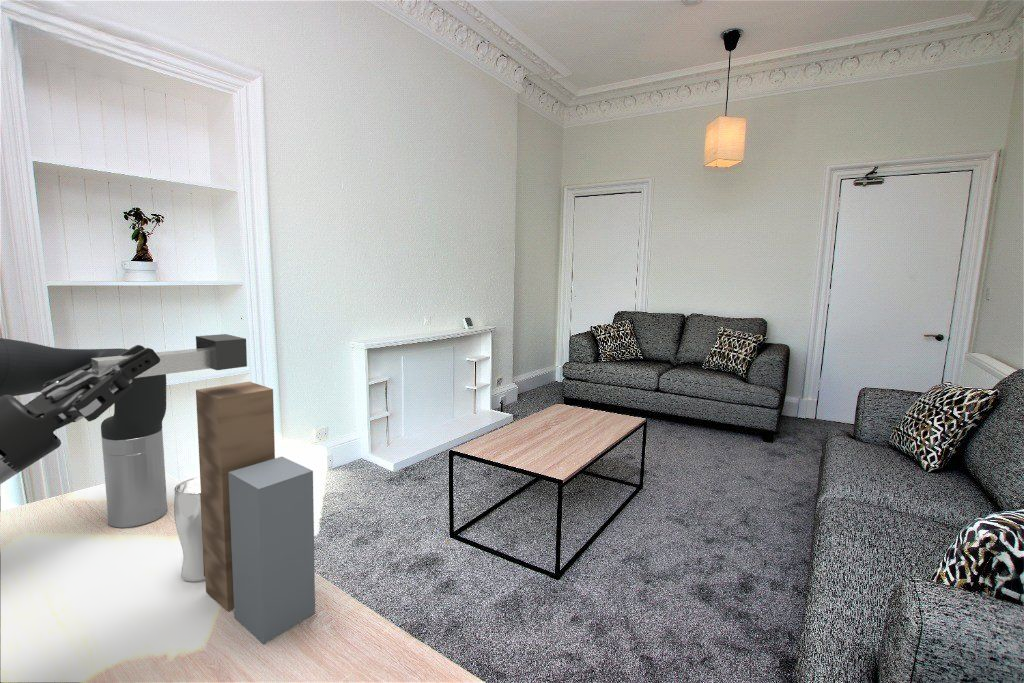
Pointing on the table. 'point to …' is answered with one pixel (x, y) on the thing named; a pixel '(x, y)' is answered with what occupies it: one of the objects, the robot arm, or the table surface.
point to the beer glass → (190, 528)
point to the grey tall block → (272, 546)
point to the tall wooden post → (228, 467)
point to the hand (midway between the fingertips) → (150, 352)
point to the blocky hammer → (190, 357)
